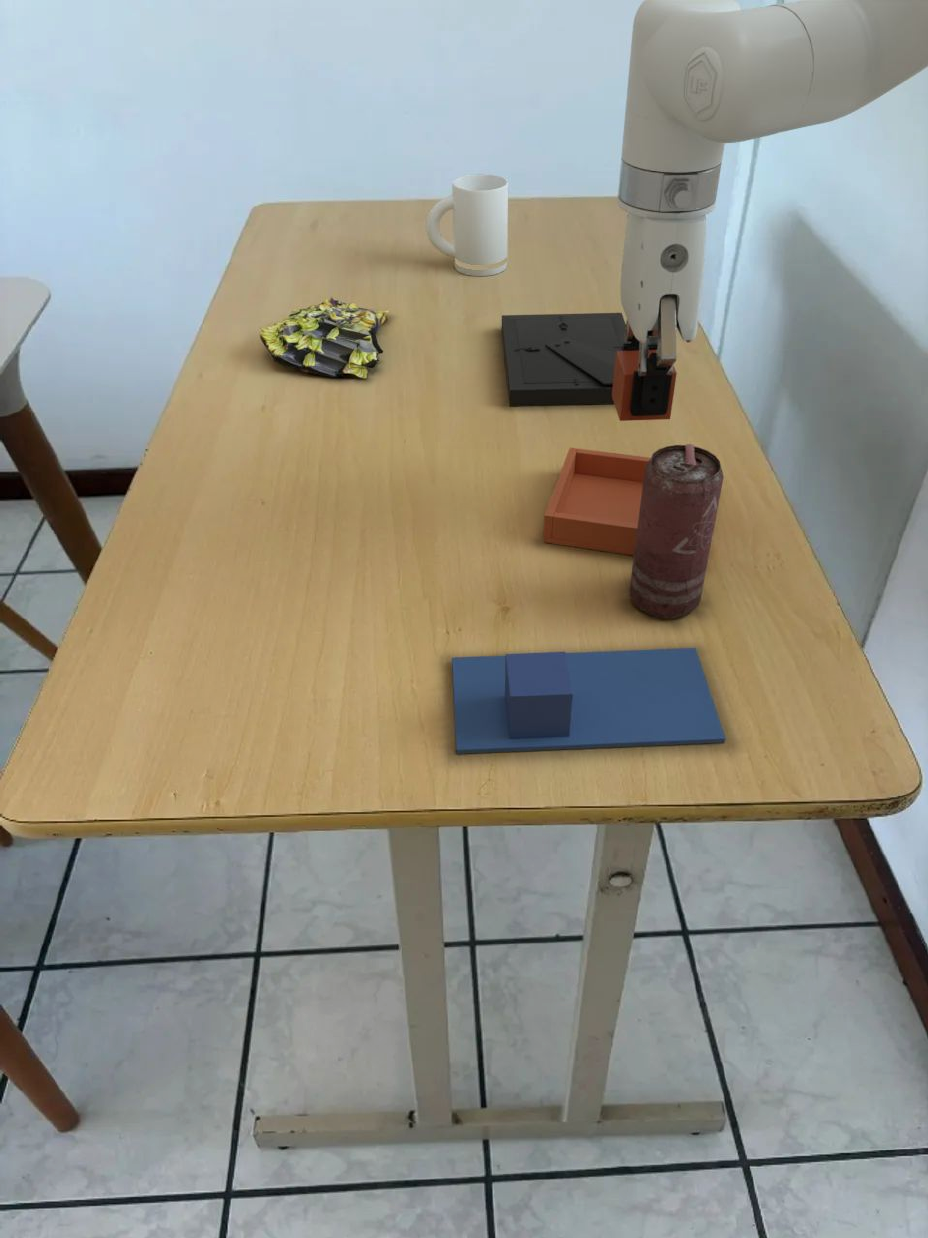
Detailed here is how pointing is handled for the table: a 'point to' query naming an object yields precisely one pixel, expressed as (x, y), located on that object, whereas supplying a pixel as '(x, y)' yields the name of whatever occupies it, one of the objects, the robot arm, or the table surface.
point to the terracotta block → (623, 386)
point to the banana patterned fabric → (327, 339)
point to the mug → (474, 223)
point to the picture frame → (561, 357)
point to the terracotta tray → (596, 501)
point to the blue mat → (595, 702)
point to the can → (675, 530)
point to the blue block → (538, 695)
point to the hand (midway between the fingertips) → (642, 397)
